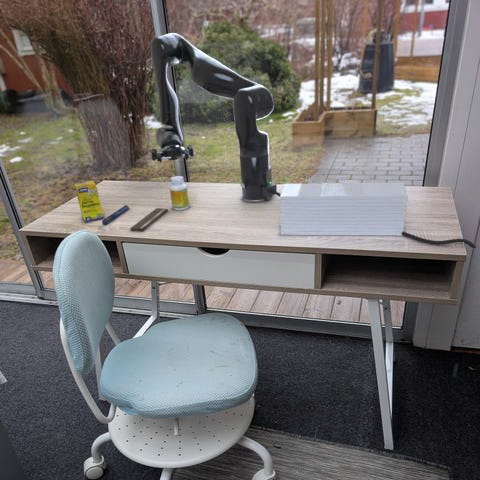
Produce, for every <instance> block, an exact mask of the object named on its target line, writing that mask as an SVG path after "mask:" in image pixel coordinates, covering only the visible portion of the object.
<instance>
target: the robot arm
mask: <svg viewBox="0 0 480 480" xmlns="http://www.w3.org/2000/svg"><path fill="white" fill-rule="evenodd" d="M150 58H151V63H152V69H153V73H154V79H155V84H156V90H157V96H158V107H159V108H158V110H159V121H160V123H162V124H163V125H166V126H161V127H158V128H157V129H156V131H155V141H156V143H157V145H158V146H159V147H160V149H159V150H158V149H156V148H152V149H151V152H150V155H151V160H152V161H157V162H159V163H160V164H161V163H163V161H165V160H168V161H177V160H179V158H180V159H183V158H184V160H185V161H188V160H189V159H190V157H195V153H194V152H195V151H194V147H193V145H192V144H188V145H187V146H186V147H184V146H183V143H184V140H185V137H184V134H183V131H182V127H181V124H180V116H179V114H180V112H179V109H180V108H179V100H178V96H177V94H176V92H175V90H174V88H173V87H172V85H171V83H170V82H169V79H168V67H169V68H170V67H172V66H176V65H183V66H185V67H187V68H188V69H189V73H190V76H191V78H192V81H193V82H194V83H195V85H196V86H198V87H199V88H200V89H202V90H204V91H205V92H207V93H208V94H211V95H213V96H216V97H220V98H225V99H231V100H232V112H233V121H234V128H235V135H236V138H237V141H238V151H239V167H240V180H241V182H240V187H241V195H242V196H241V199H242V201H245V202H247V203H263V202H268V201H269V200H270V199H271V198H272V196H277V197H279V198H280V195H281V192H278V191H277V183H273V179H272V178H273V176H272V174H273V173H272V166H270V146H269V134H268V133H267V132H265V131H262V130H259V129H258V121H259V120H262V119H265V118H267V117H268V116H270V114H271V113H272V112H273V111H274V109H275V108H274V107H275V102H274V101H275V100H274V98H273V95H272V92H271V91H270V90H269V89H268V88H266V86H264V85H262V84H259V83H257V82H254V81H252V80H250V79H248V78H246V77H244V76H242V75H240V74H238V73H237V72H236V71H234V70H232V69H231V68H229V67H227V66H226V65H224V64H222V63H221V62H220V61H219V60H216V59H215V58H213V57H211V56H209V55H208V54H206V53H204V52H203V51H202V50H200V49H198V48H197V47H195V46H194V45H193V44H192V43H191V42H189V41H188V40H187V39H186V38H184V37H183V36H182V35H181V34H178V33H177V32H176V33H175V32H170V33H166V34H162V35H158V36H155V37H153V38H152V39H151V41H150ZM401 234H402V235H403V237H407V238H410V239H412V240H415V241H417V242H421V243H426V244H430V245H447V244H448V245H449V244H454V243H455V244H456V243H461V244H466V245H468V246H469V247H470V248H472V249H476V248H477V246H476V245H475V244H474V243H473V242H472V241H470V240H469V239H465V238H453V239H445V240H432V239H428V238H425V237H424V238H423V237H420V236H418V235H417V236H416V235H414V234H411V233H409V232H406V231H403V232H402V233H401ZM463 242H464V243H463ZM458 367H459V363H455V364H454V367H453V371H452V377H453V378H456V377H457V373H458Z"/></svg>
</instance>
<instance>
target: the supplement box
mask: <svg viewBox="0 0 480 480" xmlns="http://www.w3.org/2000/svg"><path fill="white" fill-rule="evenodd" d="M73 186H74V190H75V194H76V197H77V201H78V205H79V210H80V214H81V217H82V219H83V221H84V222H85V223H89V222H94V221H98V220H104V219H105V217H104V214H103V213H104V212H103V209H102V204H101V200H100V196H99V192H98V187H97V184H96V183H95V182H94V180H89V181H83V182H79V183H74V184H73Z"/></svg>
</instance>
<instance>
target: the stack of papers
mask: <svg viewBox="0 0 480 480" xmlns="http://www.w3.org/2000/svg"><path fill="white" fill-rule="evenodd" d="M280 194H281V195H280V197H279V218H280V220H279V221H280V223H279V224H280V235H281V236H396V237H397V236H403V237H404V235H402V234H401V233H402V232H405V229H404V228H405V221H406V214H407V206H408V198H409V195H408V192H407V188H406V186H405V183H404V182H403V181H401V182H399V181H398V182H394V181H393V182H389V181H388V182H336V183H335V182H333V183H332V182H327V183H326V182H323V183H322V182H318V183H316V182H315V183H314V182H313V183H283V185H282V189H281V191H280Z"/></svg>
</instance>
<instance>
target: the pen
mask: <svg viewBox="0 0 480 480" xmlns="http://www.w3.org/2000/svg"><path fill="white" fill-rule="evenodd" d="M129 209H130V206H129V205H128V204H125V205H123V206H122V207H120V208H119V209H118V210H116V211H114V212H113V213H111V214H110V215H108V216H106V217H104V219H102V221H101V223H102V225H103V226H107V225H108V224H110V223H111V222H113V221H114V220H115V219H117V218H118V217H120V216H121V215H122V214H124V213H125V212H127V211H128V210H129Z"/></svg>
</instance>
